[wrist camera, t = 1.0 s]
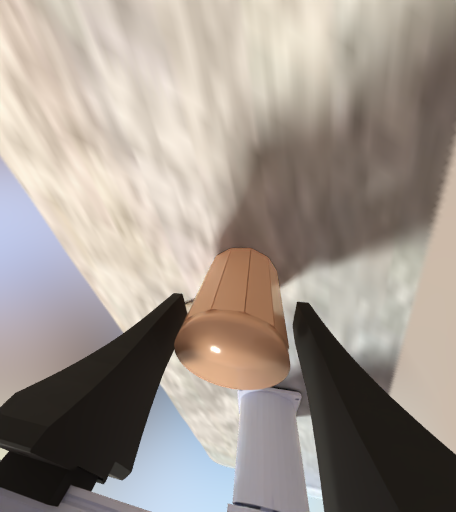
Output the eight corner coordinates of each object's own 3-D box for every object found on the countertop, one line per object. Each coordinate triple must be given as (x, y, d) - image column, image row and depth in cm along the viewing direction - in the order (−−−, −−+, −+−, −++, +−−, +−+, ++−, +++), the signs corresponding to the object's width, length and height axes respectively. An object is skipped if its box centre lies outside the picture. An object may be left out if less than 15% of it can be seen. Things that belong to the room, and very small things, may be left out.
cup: (274, 304, 14) (283, 397, 9) (213, 300, 15) (186, 380, 10) (279, 248, 12) (298, 328, 6) (205, 247, 13) (161, 315, 7)
